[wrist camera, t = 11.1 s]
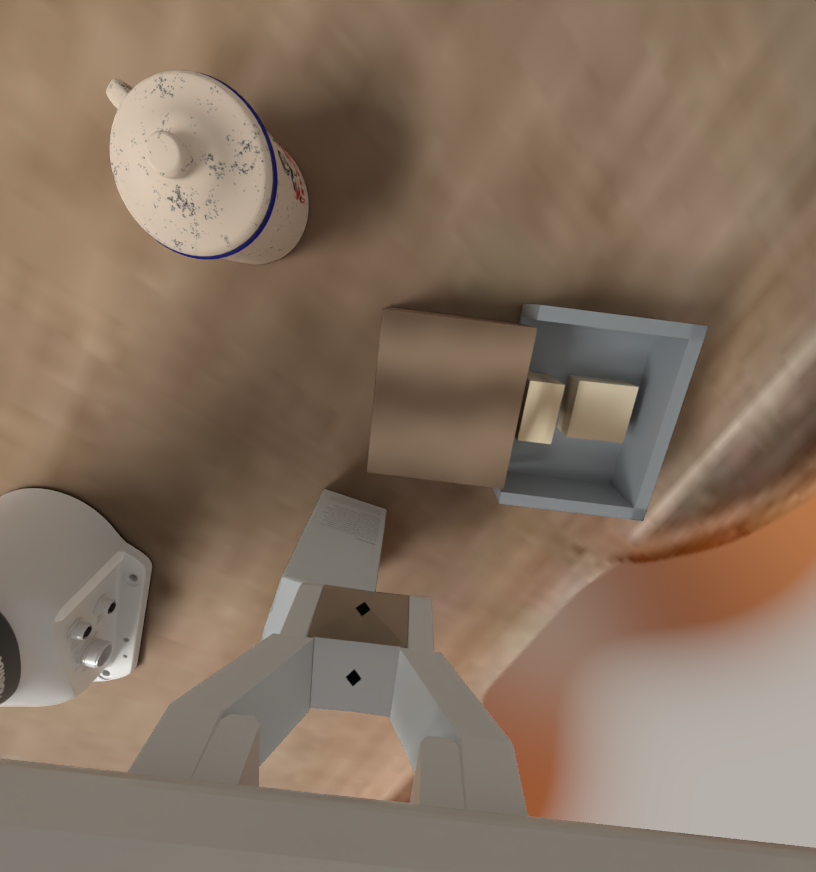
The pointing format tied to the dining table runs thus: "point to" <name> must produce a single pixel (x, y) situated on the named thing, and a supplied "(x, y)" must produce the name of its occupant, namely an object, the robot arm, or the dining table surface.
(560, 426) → the rear tile
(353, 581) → the small box
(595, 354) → the tray
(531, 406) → the front tile
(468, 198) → the dining table surface
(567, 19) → the dining table surface
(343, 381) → the dining table surface
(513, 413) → the brown and beige block
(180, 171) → the teacup with lid
